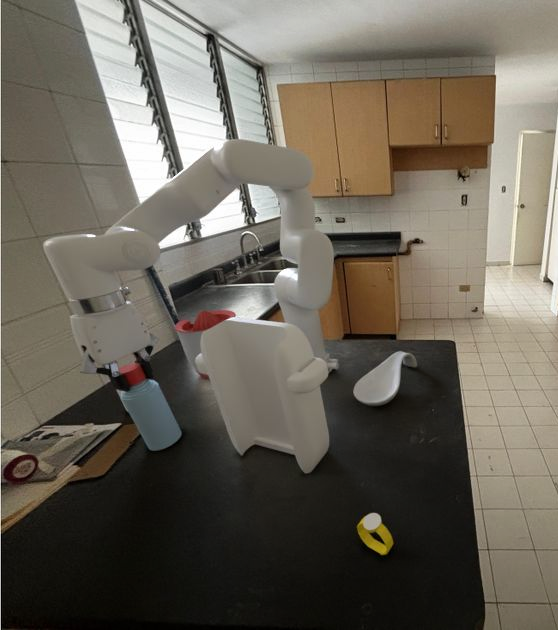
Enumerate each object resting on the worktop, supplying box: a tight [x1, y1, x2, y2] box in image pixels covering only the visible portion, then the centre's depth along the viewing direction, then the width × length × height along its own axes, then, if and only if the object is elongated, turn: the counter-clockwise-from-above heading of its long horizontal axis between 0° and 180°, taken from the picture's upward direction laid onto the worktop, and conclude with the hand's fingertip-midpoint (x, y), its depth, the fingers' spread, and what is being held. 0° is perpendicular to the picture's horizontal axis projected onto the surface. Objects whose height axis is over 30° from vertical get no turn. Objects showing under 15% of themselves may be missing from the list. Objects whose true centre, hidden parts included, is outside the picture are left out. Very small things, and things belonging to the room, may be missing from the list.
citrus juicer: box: [174, 309, 237, 380], centre depth 101 cm, size 16×17×20 cm
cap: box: [118, 362, 146, 386], centre depth 69 cm, size 4×4×3 cm
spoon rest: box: [353, 350, 418, 407], centre depth 91 cm, size 24×12×7 cm, turn 153°
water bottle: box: [120, 378, 182, 452], centre depth 73 cm, size 6×6×19 cm
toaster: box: [195, 316, 330, 475], centre depth 67 cm, size 27×11×30 cm, turn 71°
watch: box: [356, 512, 394, 556], centre depth 51 cm, size 6×3×6 cm, turn 59°
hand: (135, 382), depth 70 cm, fingers closed on cap, 3 cm apart
